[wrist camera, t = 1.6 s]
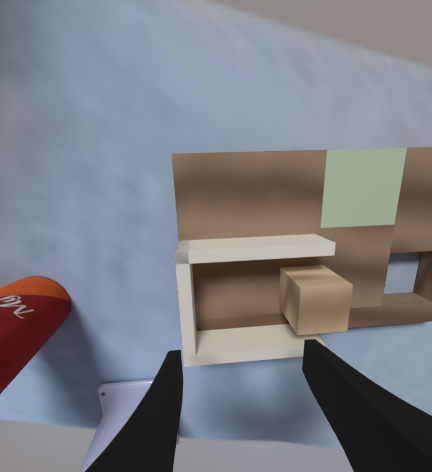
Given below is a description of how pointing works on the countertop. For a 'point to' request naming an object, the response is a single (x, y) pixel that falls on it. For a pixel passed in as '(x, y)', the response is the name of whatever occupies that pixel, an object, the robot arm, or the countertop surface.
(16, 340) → the paper cup
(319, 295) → the block
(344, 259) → the board
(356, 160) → the pad
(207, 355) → the cubby
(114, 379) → the countertop surface
